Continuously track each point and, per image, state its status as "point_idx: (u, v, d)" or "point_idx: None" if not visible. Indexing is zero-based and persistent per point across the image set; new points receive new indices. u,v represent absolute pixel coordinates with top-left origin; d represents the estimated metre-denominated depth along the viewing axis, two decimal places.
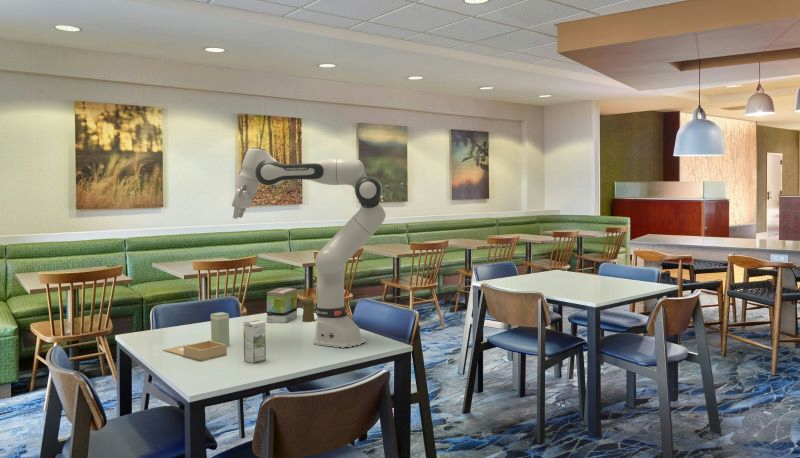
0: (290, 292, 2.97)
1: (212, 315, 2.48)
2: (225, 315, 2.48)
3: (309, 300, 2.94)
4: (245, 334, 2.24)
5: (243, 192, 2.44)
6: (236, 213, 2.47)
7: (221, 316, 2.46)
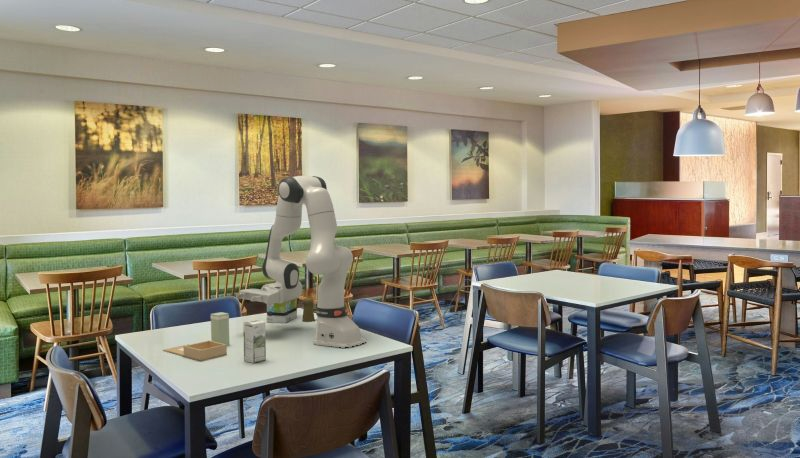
0: None
1: (212, 315, 2.48)
2: (225, 315, 2.48)
3: (309, 300, 2.94)
4: (245, 334, 2.24)
5: None
6: None
7: (221, 316, 2.46)
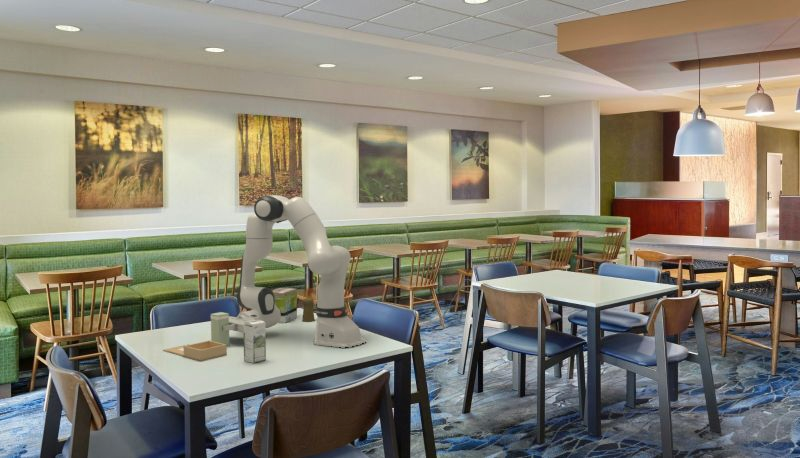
0: (290, 292, 2.97)
1: (212, 315, 2.48)
2: (225, 315, 2.48)
3: (309, 300, 2.94)
4: (245, 334, 2.24)
5: None
6: None
7: (221, 316, 2.46)
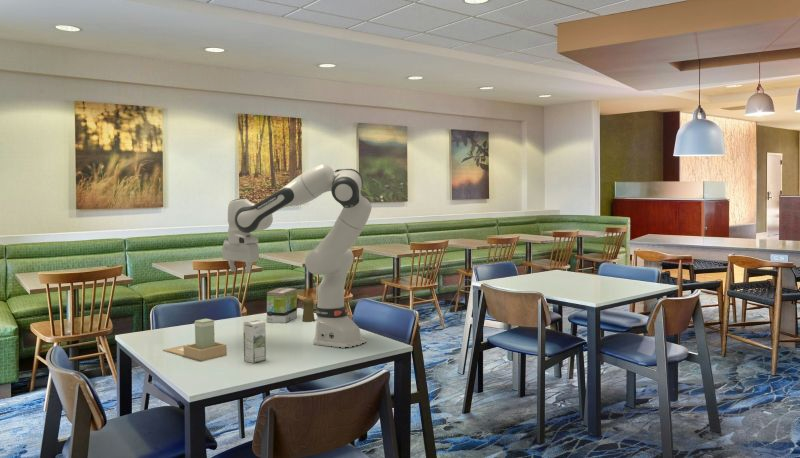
0: (290, 292, 2.97)
1: (196, 322, 2.32)
2: (210, 322, 2.32)
3: (309, 300, 2.94)
4: (245, 334, 2.24)
5: None
6: None
7: (206, 323, 2.31)
